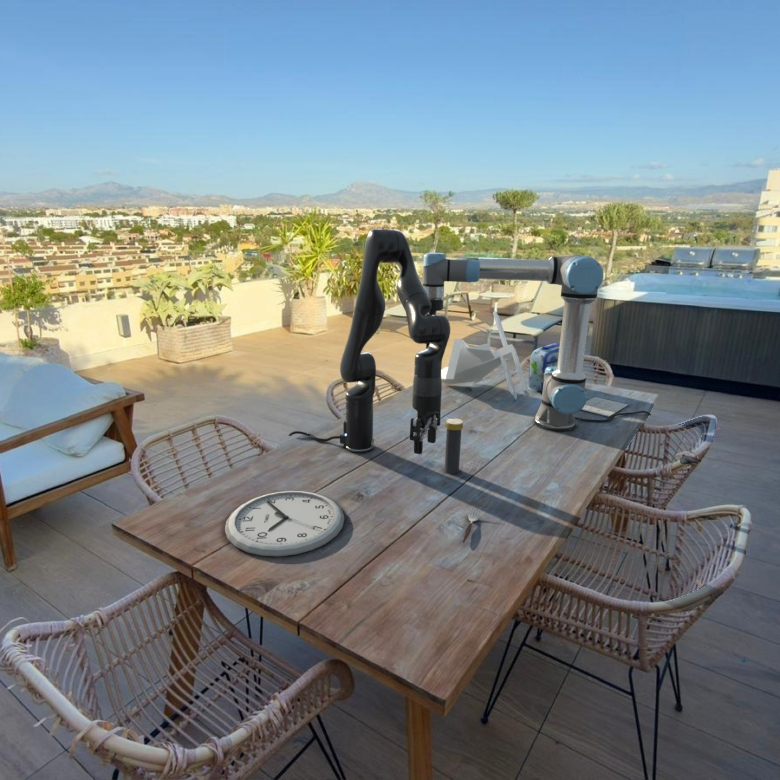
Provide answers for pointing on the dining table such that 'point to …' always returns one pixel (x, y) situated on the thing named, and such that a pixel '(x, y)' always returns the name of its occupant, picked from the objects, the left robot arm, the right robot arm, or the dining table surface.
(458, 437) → the dark grey cylinder
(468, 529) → the fork
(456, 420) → the lid
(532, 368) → the lunch box
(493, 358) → the white plastic object
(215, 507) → the dining table surface
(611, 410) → the invitation card
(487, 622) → the dining table surface
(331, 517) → the wall clock
